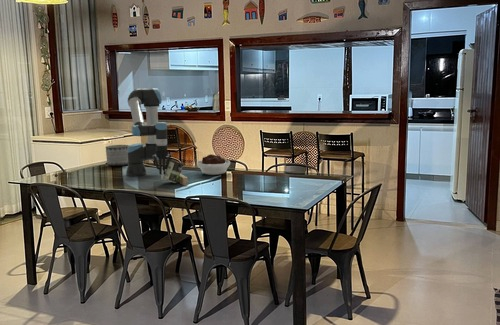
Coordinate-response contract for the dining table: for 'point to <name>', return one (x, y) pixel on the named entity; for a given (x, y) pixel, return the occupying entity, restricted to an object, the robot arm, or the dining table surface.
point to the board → (183, 180)
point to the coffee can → (173, 171)
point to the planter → (117, 155)
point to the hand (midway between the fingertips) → (162, 179)
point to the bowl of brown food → (213, 165)
